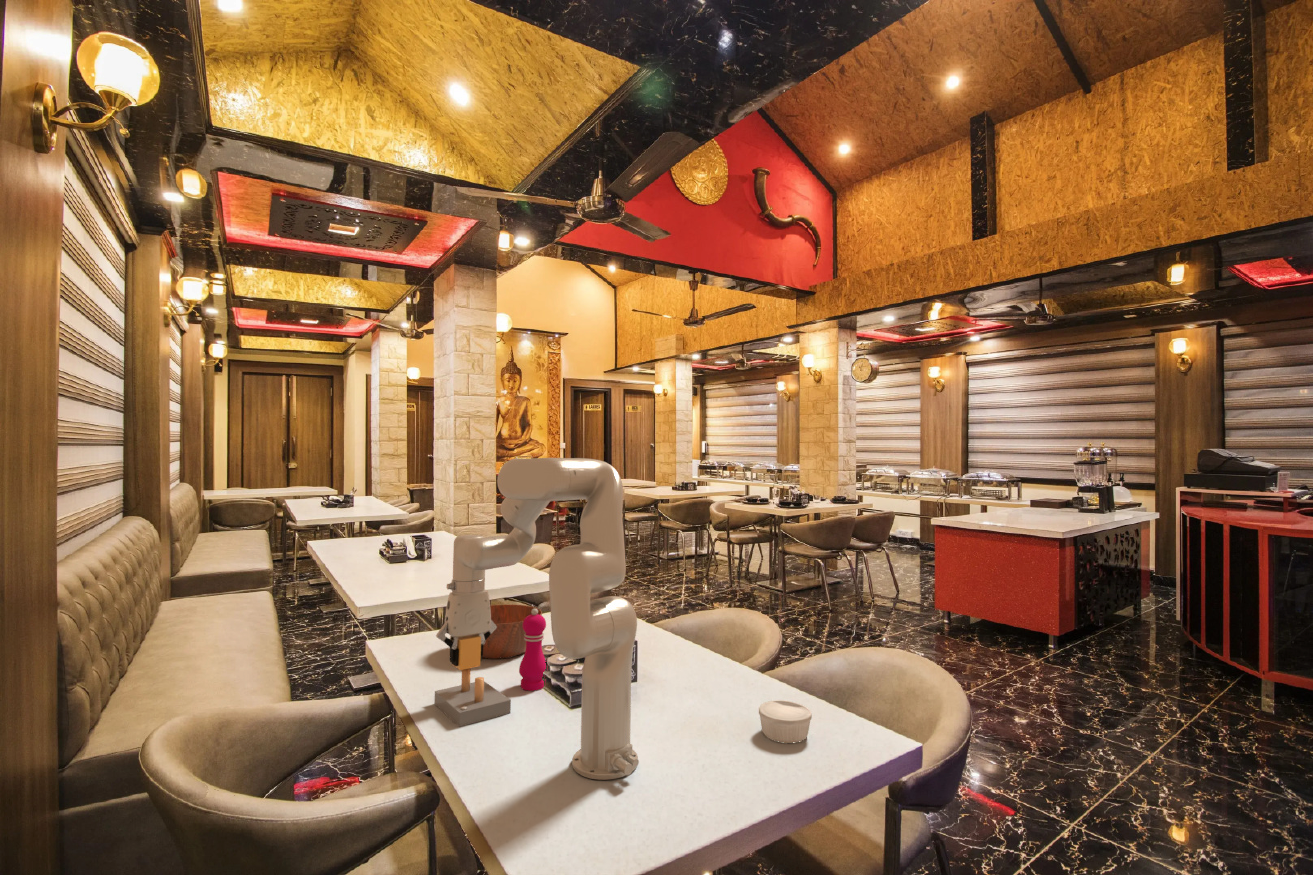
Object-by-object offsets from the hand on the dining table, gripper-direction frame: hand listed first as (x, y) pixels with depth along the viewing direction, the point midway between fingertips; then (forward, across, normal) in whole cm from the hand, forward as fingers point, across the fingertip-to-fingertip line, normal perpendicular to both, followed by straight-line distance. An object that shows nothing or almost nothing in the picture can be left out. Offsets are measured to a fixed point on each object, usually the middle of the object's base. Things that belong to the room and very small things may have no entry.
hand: (466, 661), depth 143 cm
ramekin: (+10, +48, -58) cm, 76 cm away
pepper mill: (+10, +18, 0) cm, 21 cm away
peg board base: (+10, 0, -4) cm, 11 cm away
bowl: (+10, +24, +33) cm, 42 cm away
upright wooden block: (+1, 0, 0) cm, 1 cm away
